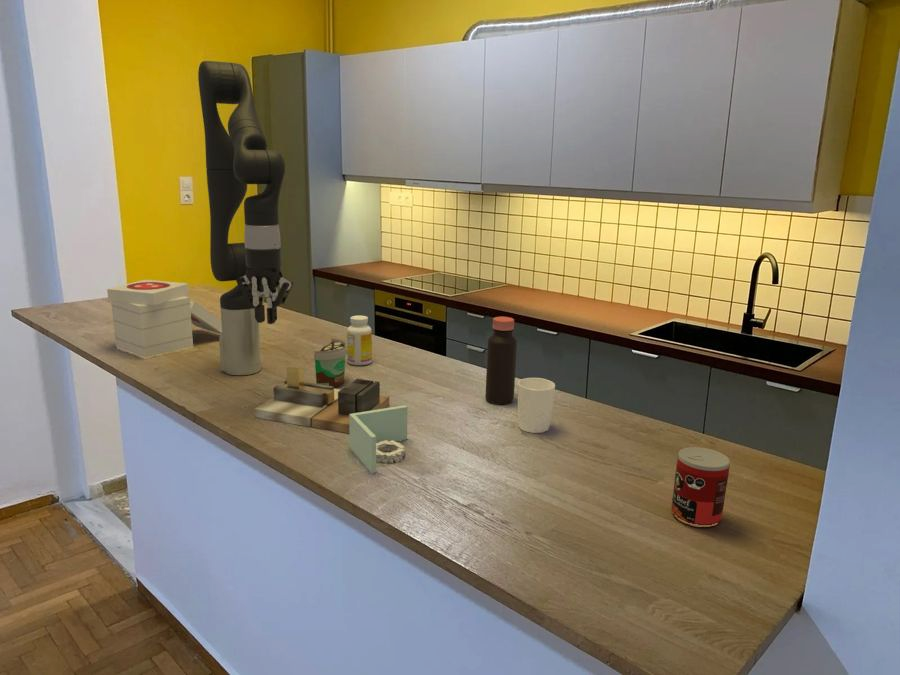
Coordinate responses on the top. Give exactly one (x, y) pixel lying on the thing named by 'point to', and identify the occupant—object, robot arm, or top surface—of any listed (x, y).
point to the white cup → (535, 404)
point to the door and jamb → (322, 405)
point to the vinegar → (501, 362)
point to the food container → (331, 363)
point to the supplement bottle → (359, 341)
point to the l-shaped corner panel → (378, 435)
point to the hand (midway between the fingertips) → (266, 322)
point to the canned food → (700, 485)
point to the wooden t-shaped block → (297, 382)
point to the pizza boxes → (157, 317)
